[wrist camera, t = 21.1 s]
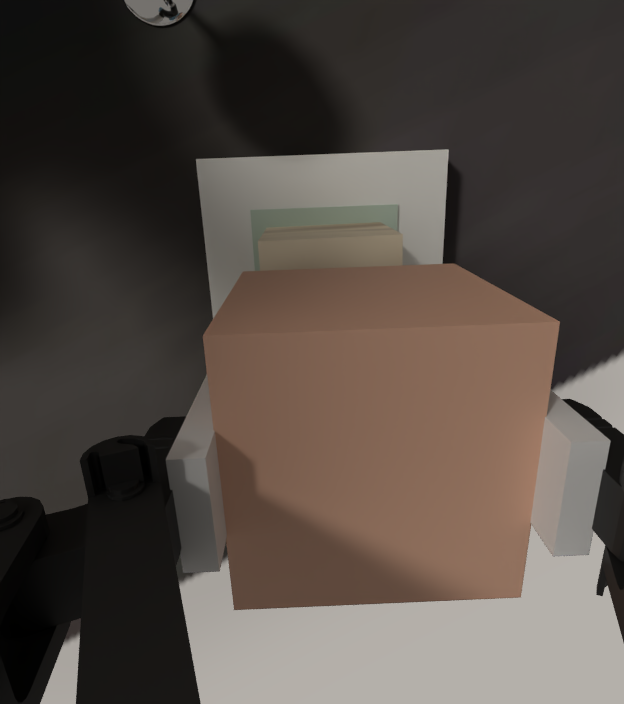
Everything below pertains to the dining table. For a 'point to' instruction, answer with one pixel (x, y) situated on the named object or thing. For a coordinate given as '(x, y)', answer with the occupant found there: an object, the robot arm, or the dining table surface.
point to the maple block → (330, 246)
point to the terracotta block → (377, 434)
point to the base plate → (318, 203)
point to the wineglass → (159, 10)
